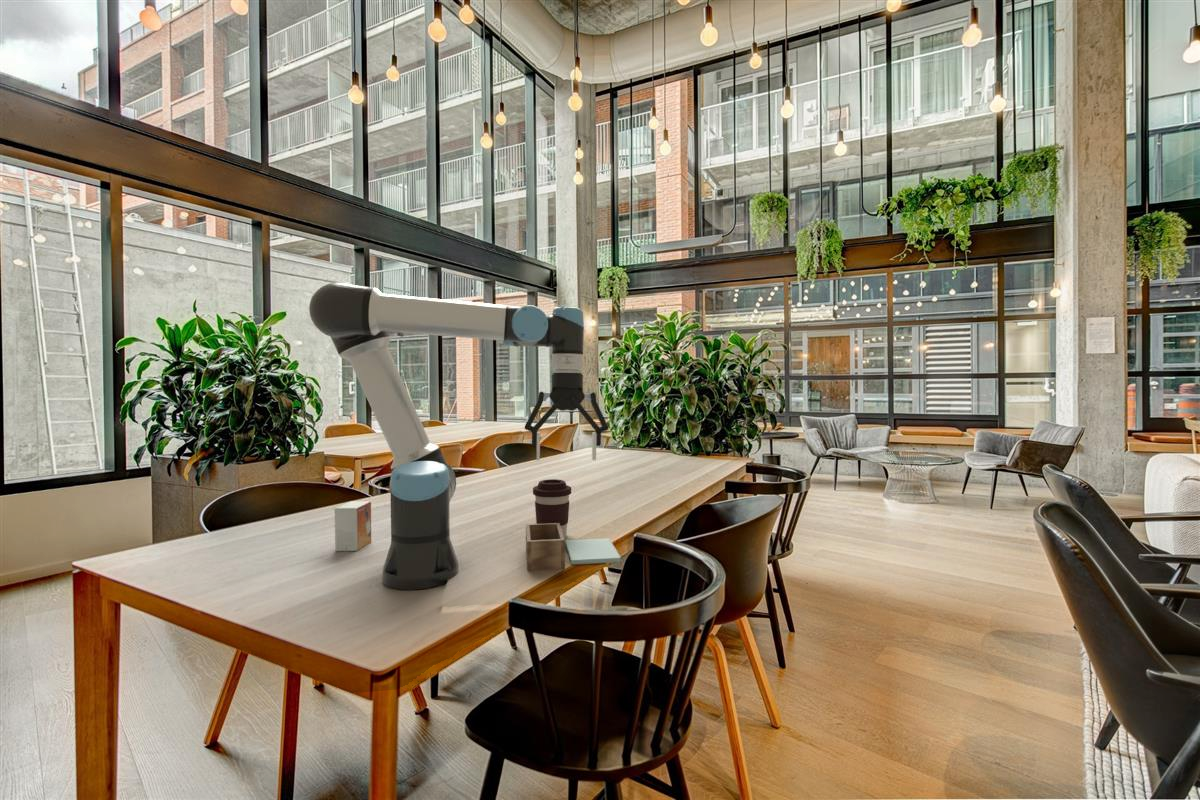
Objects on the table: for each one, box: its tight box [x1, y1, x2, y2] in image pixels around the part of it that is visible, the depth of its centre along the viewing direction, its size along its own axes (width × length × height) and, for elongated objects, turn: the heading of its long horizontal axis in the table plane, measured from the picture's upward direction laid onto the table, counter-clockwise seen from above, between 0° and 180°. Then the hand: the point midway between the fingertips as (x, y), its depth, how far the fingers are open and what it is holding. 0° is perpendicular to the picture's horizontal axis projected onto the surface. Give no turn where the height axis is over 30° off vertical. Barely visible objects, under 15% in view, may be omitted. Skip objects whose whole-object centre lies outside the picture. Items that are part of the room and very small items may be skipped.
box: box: [525, 523, 566, 572], centre depth 123 cm, size 8×14×7 cm, turn 9°
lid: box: [565, 537, 622, 565], centre depth 127 cm, size 11×15×2 cm
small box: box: [334, 500, 372, 552], centre depth 134 cm, size 8×6×10 cm
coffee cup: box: [532, 478, 572, 539], centre depth 141 cm, size 10×10×15 cm
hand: (566, 459), depth 132 cm, fingers open, 13 cm apart
